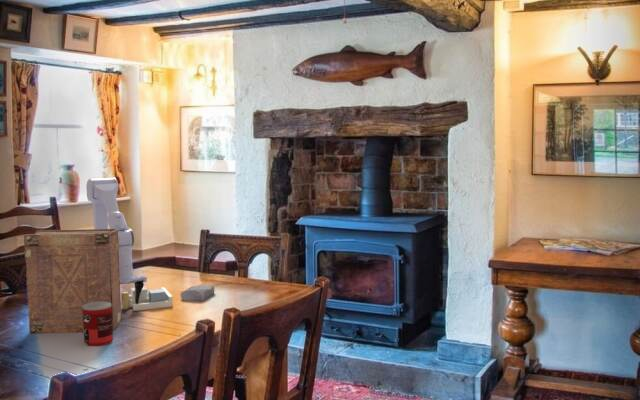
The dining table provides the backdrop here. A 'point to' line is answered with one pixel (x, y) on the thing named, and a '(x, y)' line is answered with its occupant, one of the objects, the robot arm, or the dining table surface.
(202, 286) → the stone block
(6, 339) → the dining table surface
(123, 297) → the tethered block
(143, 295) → the cream cube
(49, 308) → the book
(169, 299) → the lane rack
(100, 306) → the canned food
